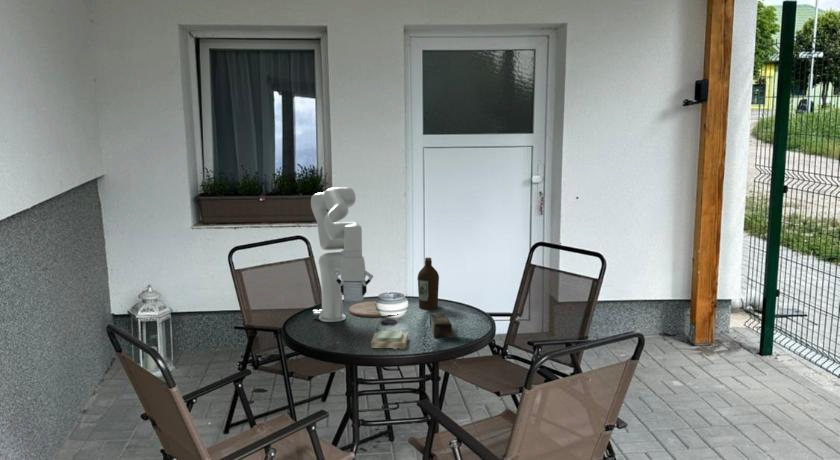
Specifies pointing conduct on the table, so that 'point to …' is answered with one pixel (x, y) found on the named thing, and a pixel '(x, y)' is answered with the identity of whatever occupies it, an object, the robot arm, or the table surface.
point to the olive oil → (428, 286)
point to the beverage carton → (440, 325)
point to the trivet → (364, 309)
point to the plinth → (389, 344)
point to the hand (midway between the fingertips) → (353, 294)
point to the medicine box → (353, 291)
